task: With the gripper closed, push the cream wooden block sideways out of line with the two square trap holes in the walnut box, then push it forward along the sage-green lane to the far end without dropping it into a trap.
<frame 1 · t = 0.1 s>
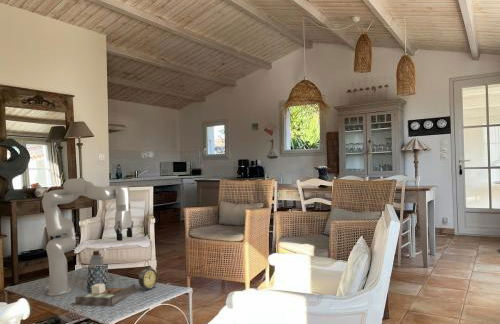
hand: (124, 238, 214), 31 cm above the table, tool pointing down, fingers open, 9 cm apart
alarm clock: (148, 290, 221), on the table
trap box: (106, 298, 210), on the table
block: (98, 292, 215), point 2 cm above the table, touching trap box
perfume bottle: (97, 279, 250), on the table
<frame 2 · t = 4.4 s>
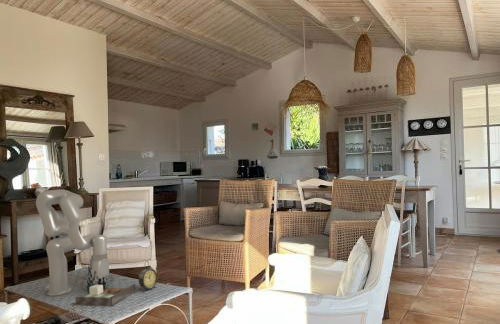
hand: (101, 289, 218), 3 cm above the table, tool pointing down, fingers closed
block: (96, 293, 213), point 2 cm above the table, touching gripper, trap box
everything else where it was.
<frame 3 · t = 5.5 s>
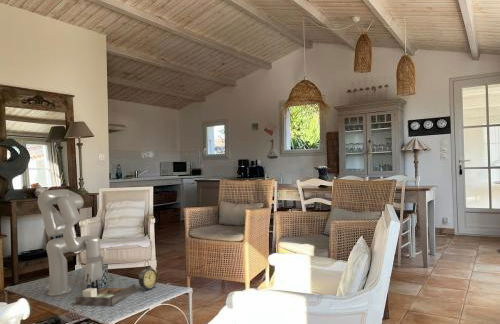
hand: (95, 292, 212), 3 cm above the table, tool pointing down, fingers closed
block: (90, 296, 207), point 2 cm above the table, touching gripper, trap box
everything else where it was.
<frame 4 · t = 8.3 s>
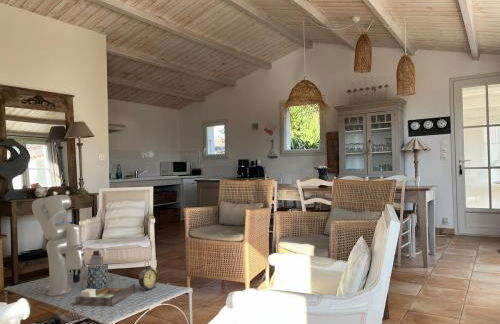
hand: (76, 282, 208), 10 cm above the table, tool pointing down, fingers closed
block: (88, 297, 206), point 2 cm above the table, touching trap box
everything else where it was.
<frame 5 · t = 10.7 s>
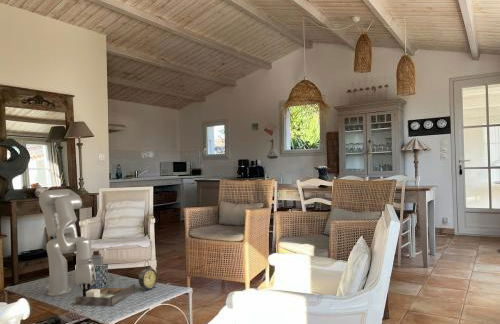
hand: (86, 296, 207), 3 cm above the table, tool pointing down, fingers closed
block: (93, 297, 205), point 2 cm above the table, touching gripper
everything else where it was.
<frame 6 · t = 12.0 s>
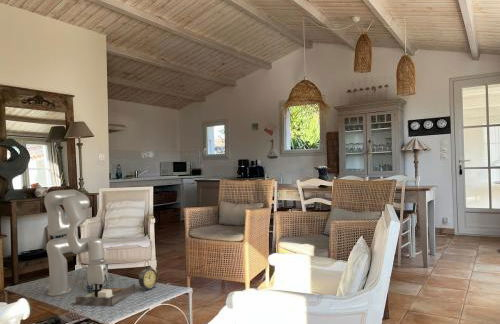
hand: (98, 296, 205), 3 cm above the table, tool pointing down, fingers closed
block: (105, 298, 203), point 2 cm above the table, touching gripper, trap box
everything else where it was.
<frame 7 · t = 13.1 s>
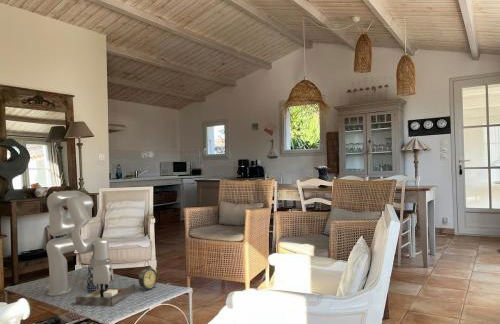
hand: (103, 296, 204), 3 cm above the table, tool pointing down, fingers closed
block: (110, 298, 202), point 2 cm above the table, touching gripper, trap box
everything else where it was.
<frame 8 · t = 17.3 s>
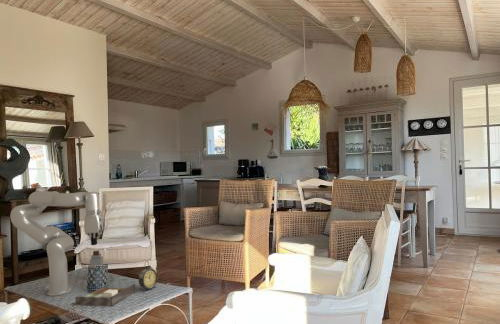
hand: (94, 244, 223), 27 cm above the table, tool pointing down, fingers closed
block: (111, 298, 202), point 2 cm above the table, touching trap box
everything else where it was.
at the end: block inside the target area on the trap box (1.2 cm from its centre), point 2.0 cm above the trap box's base; block tilted 0° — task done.
